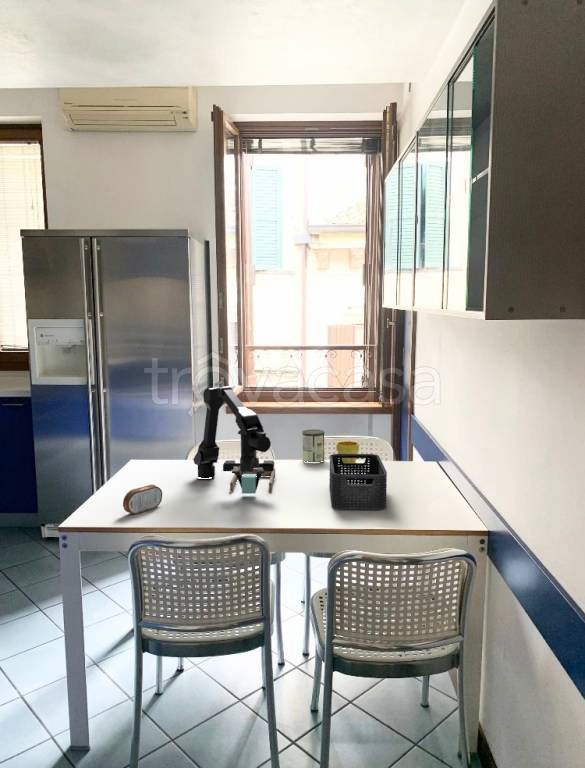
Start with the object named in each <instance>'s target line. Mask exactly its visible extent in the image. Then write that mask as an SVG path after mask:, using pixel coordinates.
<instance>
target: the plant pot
mask: <svg viewBox="0 0 585 768" xmlns="http://www.w3.org/2000/svg"><path fill="white" fill-rule="evenodd" d="M335 445H336V452H337V454H359V453H358V452H359V451H360V443H359V442H357V441H355V440H353V441H351V440H343V441H338V442H336V444H335ZM342 460H343V463H357V458H342Z"/></svg>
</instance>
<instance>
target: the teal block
mask: <svg viewBox="0 0 585 768" xmlns="http://www.w3.org/2000/svg"><path fill="white" fill-rule="evenodd" d="M256 478H257V477H256V474H243V476H242V488H241V494H243V495H244V494H245V495H247V494H250V495H251V494H253V495H254V494H256V493H257V490H258V488H257V489H256Z"/></svg>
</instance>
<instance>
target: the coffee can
mask: <svg viewBox="0 0 585 768" xmlns="http://www.w3.org/2000/svg"><path fill="white" fill-rule="evenodd" d="M301 433H302V462H303V461H305V462H307V461H308V462H321V461H324V462H325V430H322V429H315V428H314V429H306V430H305V429H304V430H303V431H302V432H301Z"/></svg>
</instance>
